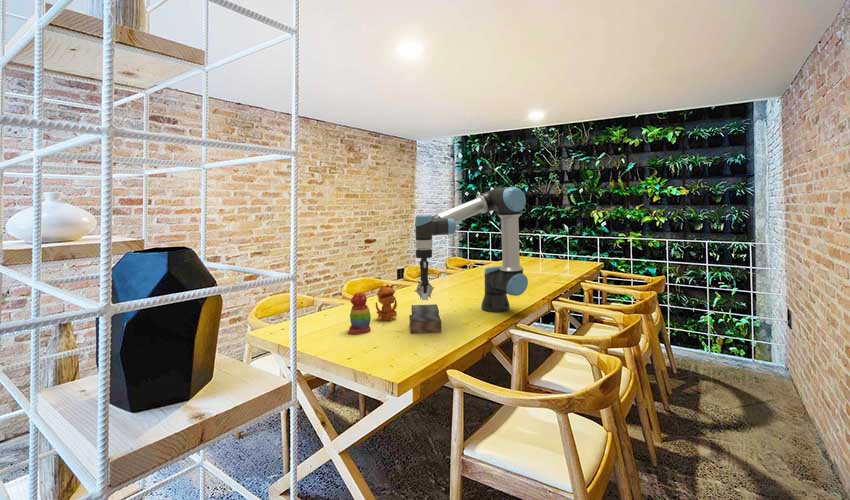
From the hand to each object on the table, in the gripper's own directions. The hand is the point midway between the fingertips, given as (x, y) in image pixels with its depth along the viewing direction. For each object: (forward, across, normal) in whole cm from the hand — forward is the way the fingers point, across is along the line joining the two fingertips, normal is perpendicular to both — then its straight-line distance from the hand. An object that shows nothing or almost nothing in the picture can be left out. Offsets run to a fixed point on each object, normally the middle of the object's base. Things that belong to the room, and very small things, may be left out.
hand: (424, 297), depth 200 cm
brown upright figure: (+15, -18, -18) cm, 30 cm away
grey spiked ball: (0, 0, 0) cm, 0 cm away
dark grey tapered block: (+15, 0, 0) cm, 15 cm away
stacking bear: (+15, 0, -30) cm, 34 cm away
